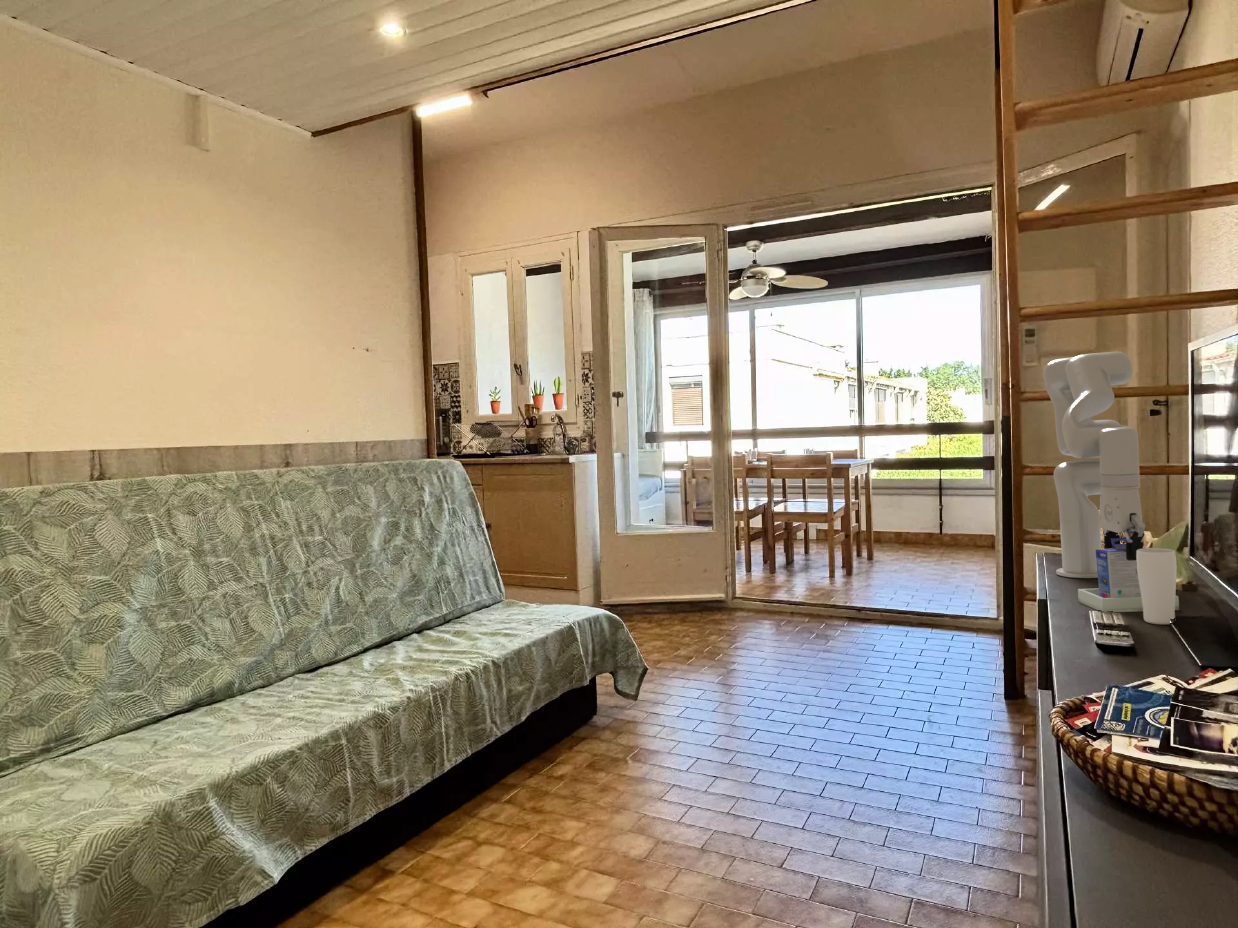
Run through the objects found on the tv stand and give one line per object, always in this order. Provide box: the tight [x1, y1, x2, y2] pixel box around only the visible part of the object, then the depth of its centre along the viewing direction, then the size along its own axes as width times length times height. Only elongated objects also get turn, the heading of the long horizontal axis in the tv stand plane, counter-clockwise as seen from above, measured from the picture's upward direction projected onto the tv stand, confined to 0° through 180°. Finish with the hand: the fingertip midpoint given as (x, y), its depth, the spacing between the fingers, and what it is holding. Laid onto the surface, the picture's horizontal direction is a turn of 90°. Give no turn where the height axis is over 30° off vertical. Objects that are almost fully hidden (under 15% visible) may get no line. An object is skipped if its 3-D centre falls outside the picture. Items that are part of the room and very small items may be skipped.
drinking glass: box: [1136, 547, 1178, 626], centre depth 159 cm, size 7×7×15 cm
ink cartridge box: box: [1096, 537, 1145, 598], centre depth 175 cm, size 10×6×14 cm, turn 87°
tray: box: [1077, 587, 1180, 613], centre depth 174 cm, size 12×16×3 cm
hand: (1123, 556), depth 175 cm, fingers open, 9 cm apart
